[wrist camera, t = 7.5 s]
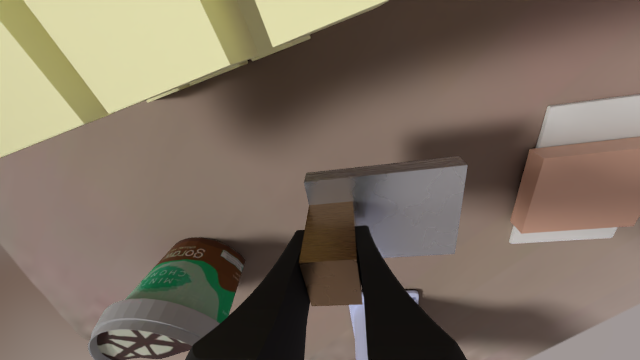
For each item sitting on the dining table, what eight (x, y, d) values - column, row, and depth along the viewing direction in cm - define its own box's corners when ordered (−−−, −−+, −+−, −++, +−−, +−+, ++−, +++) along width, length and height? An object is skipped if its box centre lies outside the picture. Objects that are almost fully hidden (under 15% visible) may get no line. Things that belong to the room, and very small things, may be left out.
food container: (227, 216, 25) (168, 313, 17) (256, 257, 28) (219, 358, 19) (135, 243, 28) (46, 337, 20) (170, 278, 31) (105, 373, 23)
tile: (509, 220, 22) (613, 212, 21) (521, 233, 21) (633, 226, 20) (528, 148, 19) (653, 134, 18) (544, 158, 18) (682, 143, 16)
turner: (323, 249, 17) (317, 324, 13) (306, 172, 14) (291, 236, 10) (448, 241, 16) (487, 320, 12) (459, 155, 13) (517, 219, 9)
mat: (608, 235, 23) (611, 237, 23) (508, 241, 24) (510, 243, 24) (689, 87, 16) (695, 88, 16) (547, 105, 18) (550, 107, 17)
